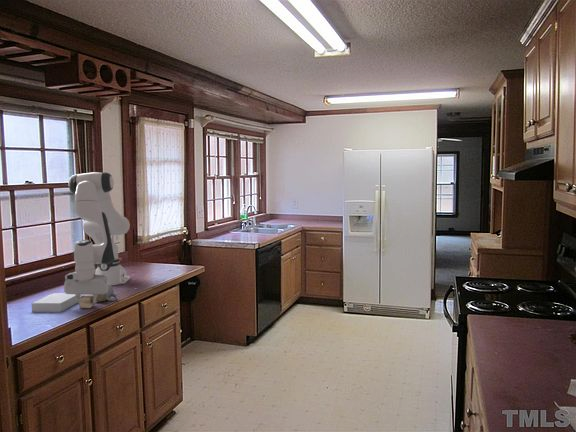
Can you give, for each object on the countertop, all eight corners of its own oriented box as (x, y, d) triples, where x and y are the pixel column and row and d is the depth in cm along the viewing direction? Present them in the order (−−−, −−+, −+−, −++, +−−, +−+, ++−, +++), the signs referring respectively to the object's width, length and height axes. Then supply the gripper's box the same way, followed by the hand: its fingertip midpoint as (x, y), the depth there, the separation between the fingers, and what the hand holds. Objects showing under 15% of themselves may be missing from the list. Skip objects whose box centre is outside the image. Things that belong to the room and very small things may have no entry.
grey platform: (53, 300, 239) (53, 293, 238) (80, 301, 238) (80, 293, 237) (32, 311, 221) (31, 303, 220) (61, 311, 220) (60, 303, 219)
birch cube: (84, 304, 229) (84, 294, 229) (95, 304, 229) (94, 294, 228) (79, 307, 224) (79, 297, 224) (90, 308, 224) (89, 297, 223)
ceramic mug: (91, 302, 235) (91, 287, 234) (99, 298, 243) (99, 283, 242) (112, 303, 234) (112, 287, 233) (119, 298, 242) (119, 283, 241)
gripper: (109, 273, 227) (111, 301, 229) (68, 273, 229) (70, 301, 230) (103, 276, 221) (105, 305, 222) (61, 276, 222) (63, 304, 224)
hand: (87, 303), depth 226 cm, fingers closed on birch cube, 5 cm apart
